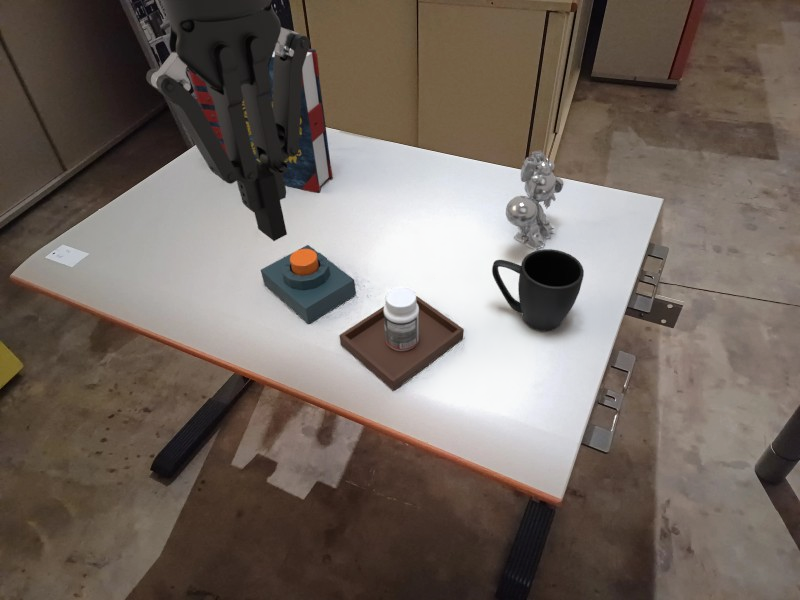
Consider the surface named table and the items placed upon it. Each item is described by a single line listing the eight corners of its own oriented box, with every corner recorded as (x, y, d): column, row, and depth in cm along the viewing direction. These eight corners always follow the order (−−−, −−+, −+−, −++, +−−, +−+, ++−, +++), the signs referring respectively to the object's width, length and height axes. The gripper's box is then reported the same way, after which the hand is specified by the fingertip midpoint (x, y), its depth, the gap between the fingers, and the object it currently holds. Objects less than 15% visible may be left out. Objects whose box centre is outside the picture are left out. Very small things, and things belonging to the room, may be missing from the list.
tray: (393, 391, 71) (393, 381, 70) (340, 344, 77) (339, 335, 76) (463, 338, 78) (464, 329, 76) (408, 299, 84) (408, 289, 82)
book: (210, 171, 113) (172, 45, 96) (230, 155, 118) (197, 32, 101) (317, 194, 106) (297, 62, 88) (334, 176, 110) (318, 48, 93)
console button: (324, 267, 83) (322, 257, 81) (302, 280, 81) (300, 269, 79) (308, 255, 85) (306, 245, 83) (286, 267, 83) (284, 256, 82)
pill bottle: (392, 324, 79) (390, 280, 74) (423, 332, 78) (423, 288, 72) (380, 347, 76) (376, 303, 70) (412, 356, 75) (411, 312, 69)
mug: (496, 287, 85) (501, 238, 79) (575, 306, 82) (588, 256, 75) (481, 323, 80) (486, 273, 73) (565, 344, 76) (579, 294, 70)
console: (356, 295, 85) (353, 270, 81) (308, 324, 80) (303, 299, 77) (310, 259, 91) (306, 235, 88) (264, 285, 87) (257, 260, 84)
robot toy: (525, 271, 88) (538, 190, 77) (490, 257, 90) (499, 177, 80) (563, 225, 96) (580, 146, 86) (531, 214, 99) (543, 136, 89)
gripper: (134, -28, 31) (232, 282, 48) (318, -66, 38) (350, 220, 54) (86, -48, 35) (191, 244, 52) (259, -79, 42) (305, 190, 58)
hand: (272, 231), depth 53 cm, fingers closed
